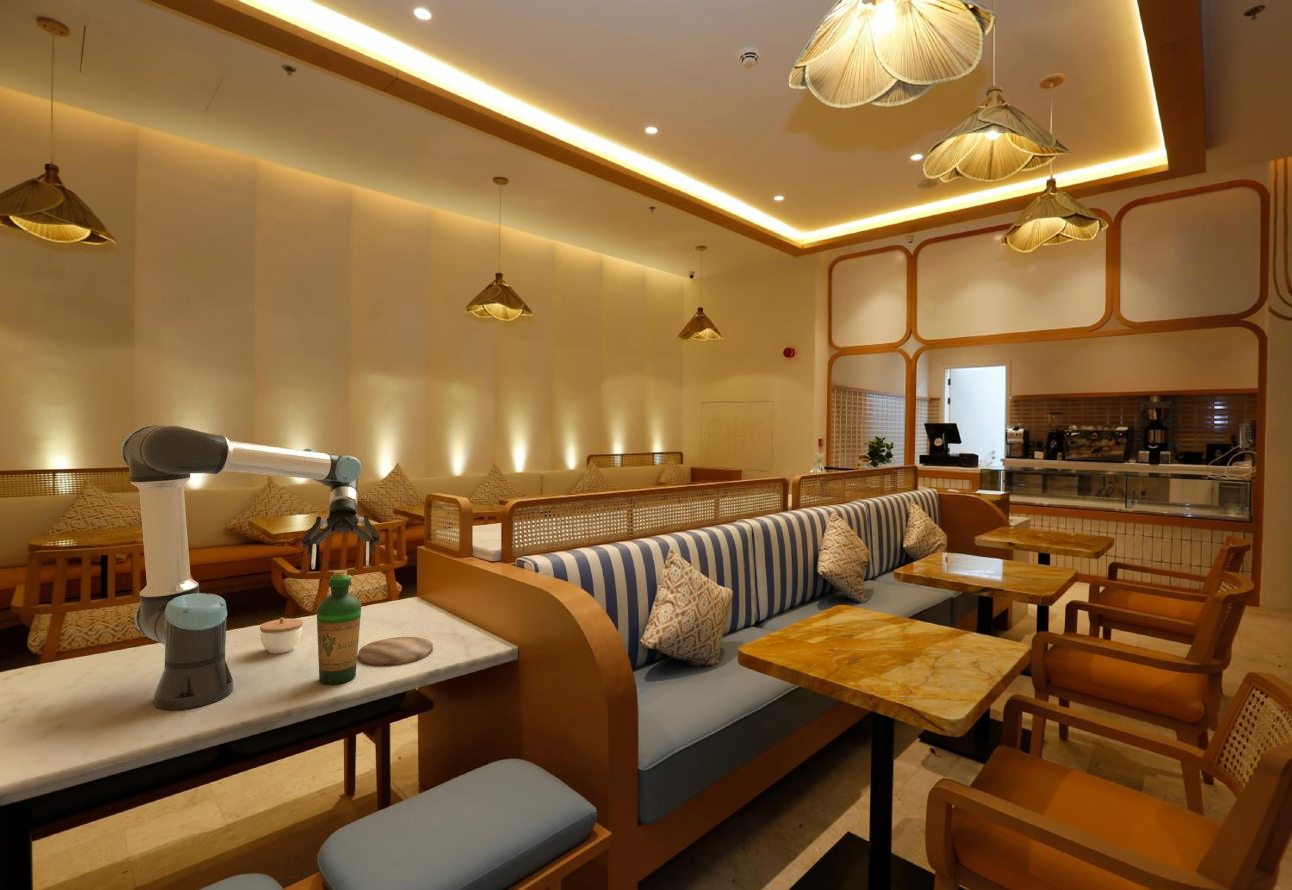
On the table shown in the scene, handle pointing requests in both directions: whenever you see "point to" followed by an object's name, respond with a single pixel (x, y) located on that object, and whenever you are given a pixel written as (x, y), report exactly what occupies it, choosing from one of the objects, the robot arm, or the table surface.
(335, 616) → the bottle
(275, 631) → the lidded jar
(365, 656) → the serving board
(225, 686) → the robot arm
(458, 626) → the table surface
